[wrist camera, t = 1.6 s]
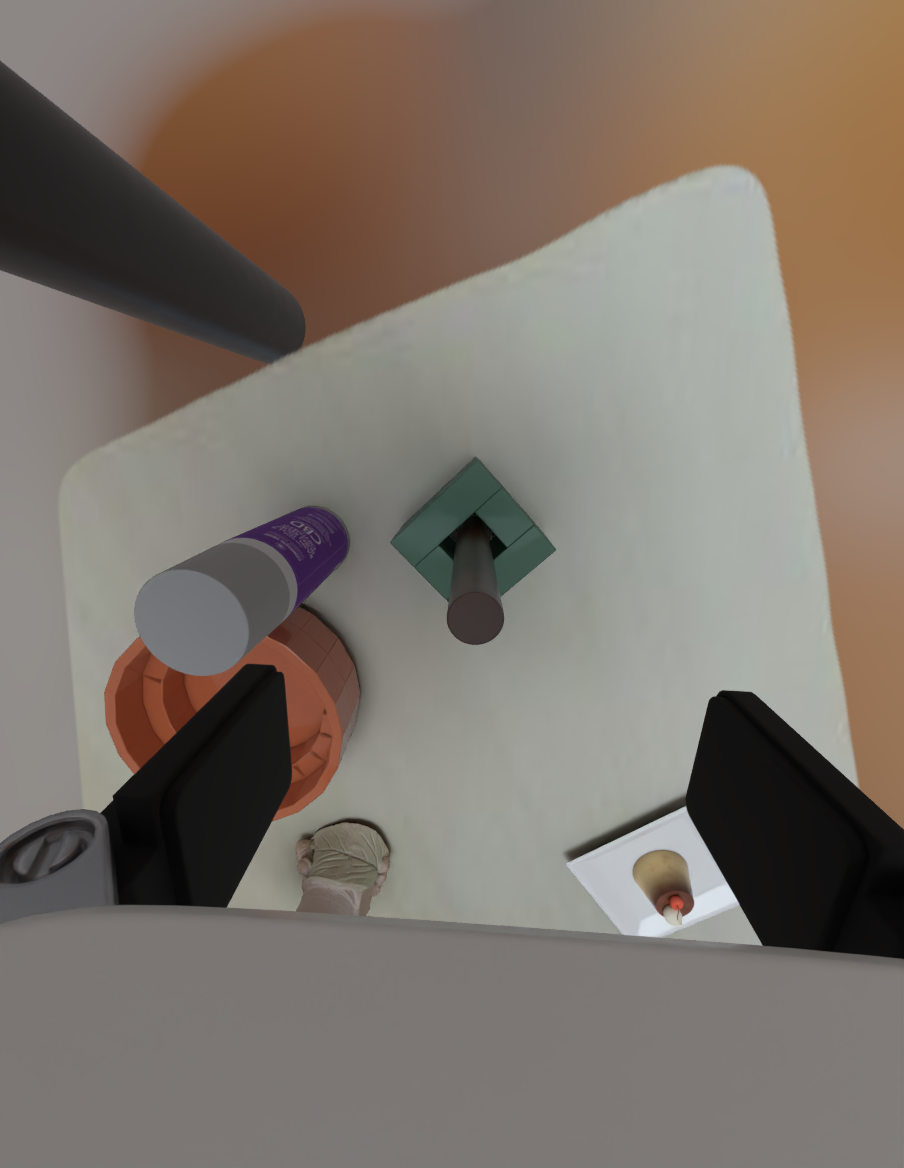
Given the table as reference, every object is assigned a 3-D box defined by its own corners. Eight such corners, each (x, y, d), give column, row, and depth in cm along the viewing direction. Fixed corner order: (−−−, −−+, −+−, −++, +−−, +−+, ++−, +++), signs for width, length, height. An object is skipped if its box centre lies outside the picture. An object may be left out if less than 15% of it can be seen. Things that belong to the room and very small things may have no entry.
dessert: (691, 790, 37) (722, 840, 33) (754, 883, 40) (790, 941, 35) (563, 852, 40) (575, 907, 35) (630, 936, 42) (650, 996, 38)
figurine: (298, 809, 39) (136, 1162, 20) (396, 823, 39) (327, 1189, 20) (293, 885, 42) (147, 1259, 23) (385, 899, 42) (315, 1282, 23)
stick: (451, 528, 31) (434, 617, 16) (473, 508, 31) (477, 580, 16) (471, 549, 32) (473, 656, 16) (493, 530, 31) (515, 621, 16)
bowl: (124, 675, 36) (58, 721, 30) (248, 545, 32) (201, 569, 26) (274, 796, 39) (240, 858, 33) (403, 690, 35) (390, 739, 30)
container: (354, 514, 31) (257, 581, 17) (344, 578, 33) (247, 690, 18) (286, 498, 31) (130, 553, 17) (279, 564, 32) (130, 665, 18)
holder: (401, 526, 31) (389, 542, 27) (476, 456, 30) (477, 460, 25) (468, 596, 33) (468, 623, 28) (543, 532, 31) (556, 550, 26)
